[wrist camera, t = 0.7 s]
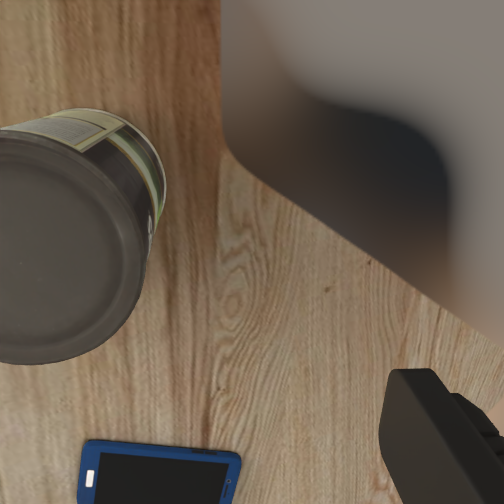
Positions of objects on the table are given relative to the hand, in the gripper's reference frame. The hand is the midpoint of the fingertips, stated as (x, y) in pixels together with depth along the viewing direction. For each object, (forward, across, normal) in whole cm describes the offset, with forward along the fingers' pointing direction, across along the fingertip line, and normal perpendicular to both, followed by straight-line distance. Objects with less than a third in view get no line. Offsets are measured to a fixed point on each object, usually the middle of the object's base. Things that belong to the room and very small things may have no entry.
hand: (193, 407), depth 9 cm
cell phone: (+24, +4, +29) cm, 38 cm away
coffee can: (+25, +8, +2) cm, 26 cm away
